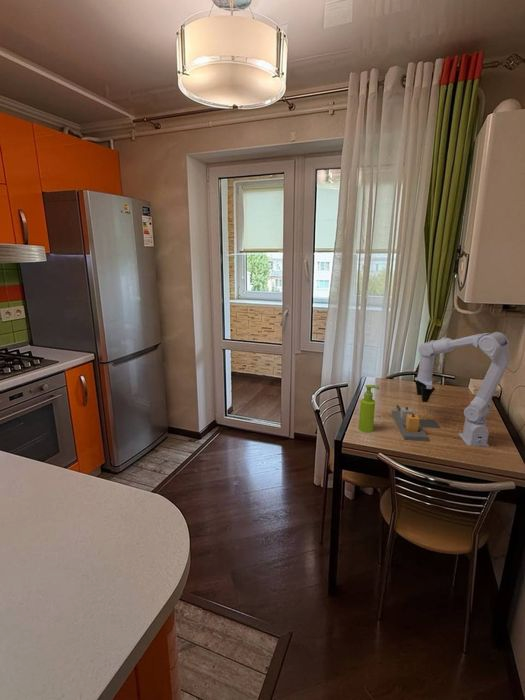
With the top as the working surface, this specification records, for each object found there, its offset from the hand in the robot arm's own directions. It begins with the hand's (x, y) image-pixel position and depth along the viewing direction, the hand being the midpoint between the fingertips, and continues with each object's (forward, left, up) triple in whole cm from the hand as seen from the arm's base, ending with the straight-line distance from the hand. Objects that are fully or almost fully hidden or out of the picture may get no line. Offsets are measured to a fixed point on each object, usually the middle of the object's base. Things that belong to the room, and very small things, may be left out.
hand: (422, 398), depth 164 cm
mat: (-4, -2, -10) cm, 11 cm away
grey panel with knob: (-4, +7, -10) cm, 13 cm away
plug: (-13, +7, -10) cm, 18 cm away
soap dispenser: (-12, +25, -11) cm, 30 cm away
